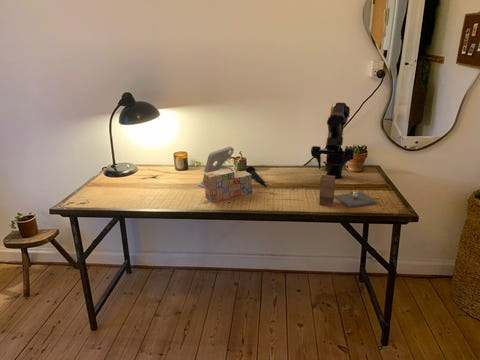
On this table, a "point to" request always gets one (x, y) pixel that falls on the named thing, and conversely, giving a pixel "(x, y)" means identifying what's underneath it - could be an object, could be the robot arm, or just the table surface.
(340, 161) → the robot arm
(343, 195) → the charcoal base plate
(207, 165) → the phone holder
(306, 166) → the table surface
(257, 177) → the microphone
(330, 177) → the walnut block
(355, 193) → the steel pin
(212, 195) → the stack of blocks
